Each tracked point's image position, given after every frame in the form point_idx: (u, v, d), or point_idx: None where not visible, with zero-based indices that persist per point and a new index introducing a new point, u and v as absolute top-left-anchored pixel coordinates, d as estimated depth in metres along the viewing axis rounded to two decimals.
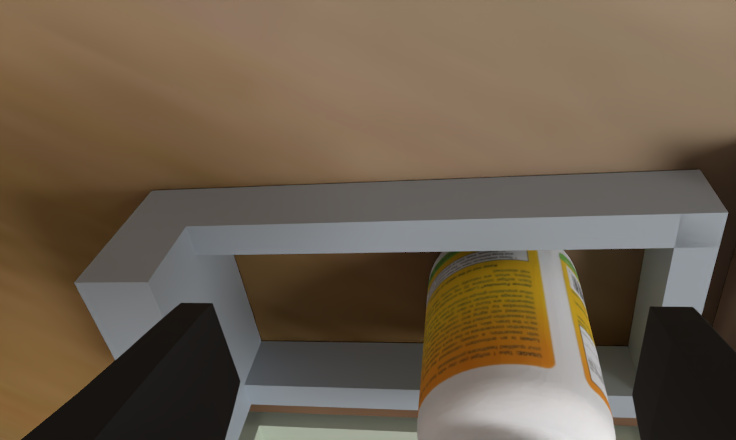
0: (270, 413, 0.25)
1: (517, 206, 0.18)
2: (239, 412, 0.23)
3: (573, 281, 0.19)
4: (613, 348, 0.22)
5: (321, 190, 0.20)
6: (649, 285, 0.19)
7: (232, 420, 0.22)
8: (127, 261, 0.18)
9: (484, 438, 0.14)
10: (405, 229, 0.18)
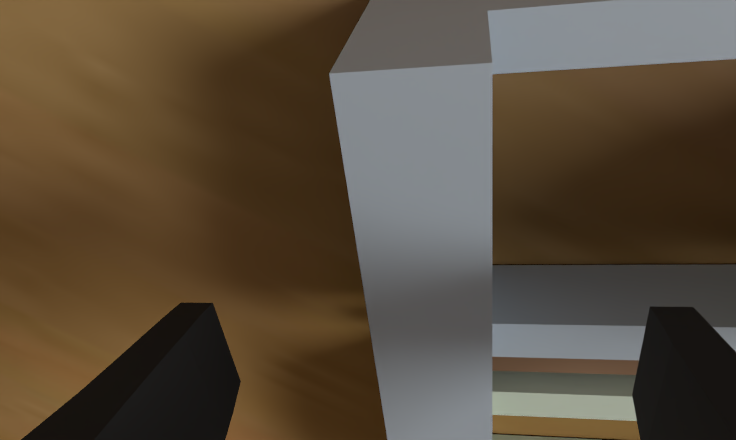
0: (500, 374, 0.17)
1: None
2: None
3: None
4: None
5: None
6: None
7: None
8: (414, 46, 0.09)
9: None
10: None
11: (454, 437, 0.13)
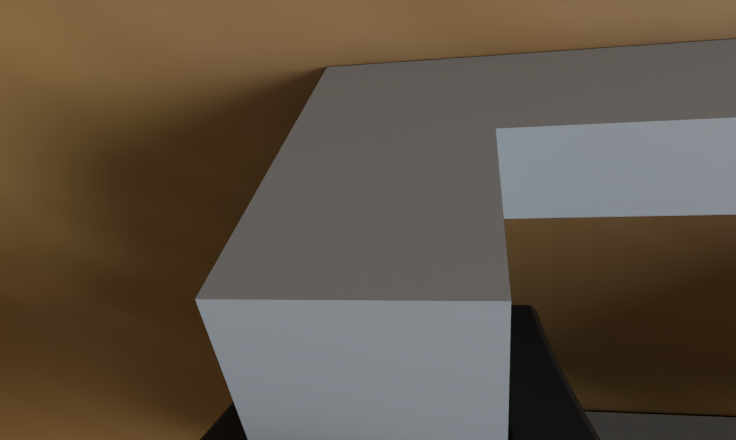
0: None
1: None
2: None
3: None
4: None
5: None
6: None
7: None
8: (366, 224, 0.05)
9: None
10: None
11: None
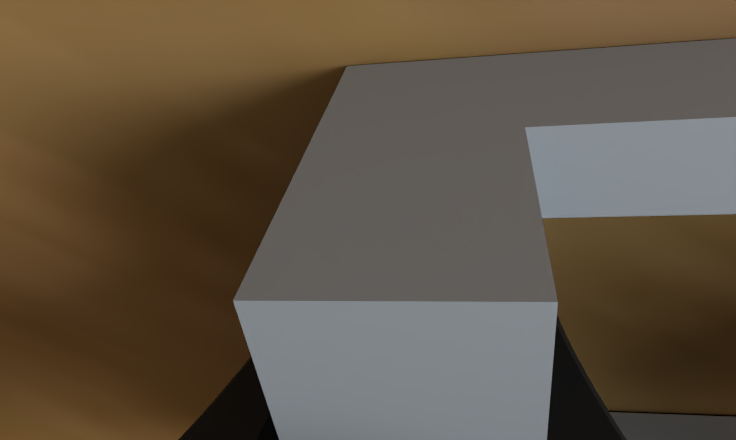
0: None
1: None
2: None
3: None
4: None
5: None
6: None
7: None
8: (402, 224, 0.05)
9: None
10: None
11: None
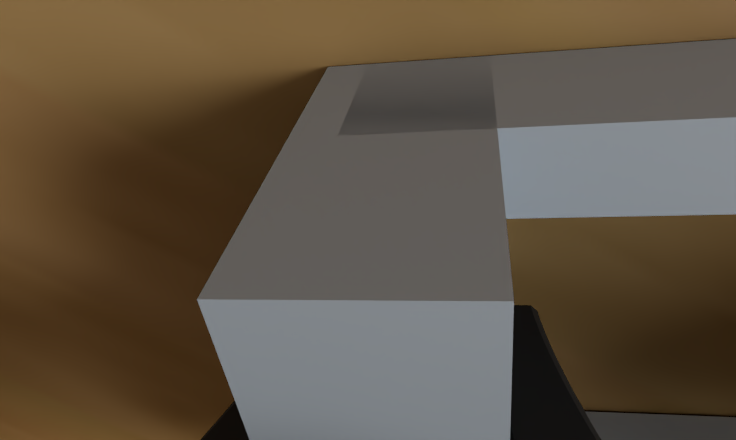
0: None
1: None
2: None
3: None
4: None
5: None
6: None
7: None
8: (368, 223, 0.05)
9: None
10: None
11: None
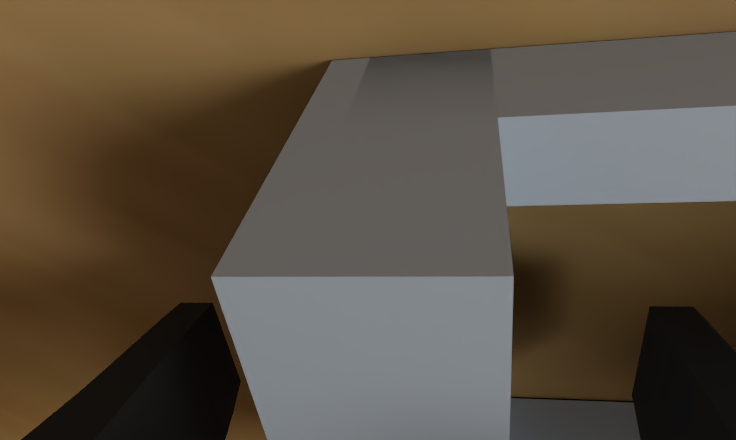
0: None
1: None
2: None
3: None
4: None
5: None
6: None
7: None
8: (373, 206, 0.05)
9: None
10: None
11: None
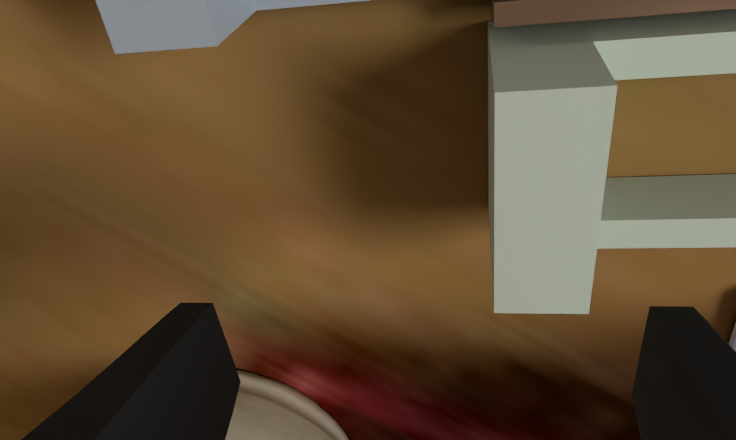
0: (602, 32, 0.14)
1: None
2: None
3: None
4: None
5: None
6: None
7: None
8: None
9: None
10: None
11: (176, 33, 0.12)
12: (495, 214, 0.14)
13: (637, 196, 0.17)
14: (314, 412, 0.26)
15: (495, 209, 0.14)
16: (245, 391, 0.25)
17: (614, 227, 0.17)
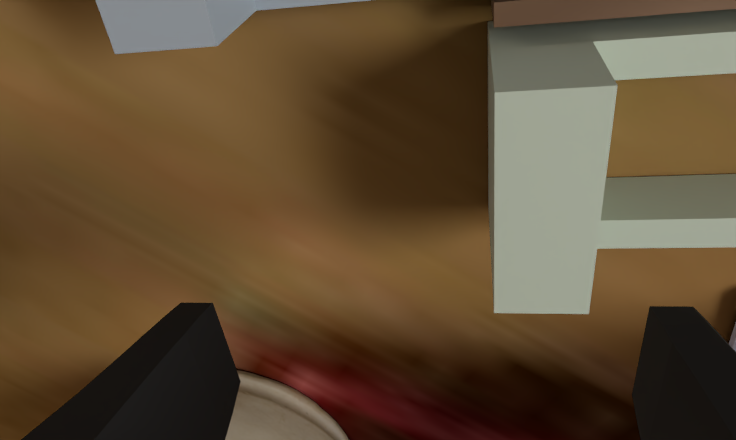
0: (602, 32, 0.14)
1: None
2: None
3: None
4: None
5: None
6: None
7: None
8: None
9: None
10: None
11: (176, 33, 0.12)
12: (495, 214, 0.14)
13: (637, 196, 0.17)
14: (314, 412, 0.26)
15: (495, 209, 0.14)
16: (245, 391, 0.25)
17: (614, 227, 0.17)
